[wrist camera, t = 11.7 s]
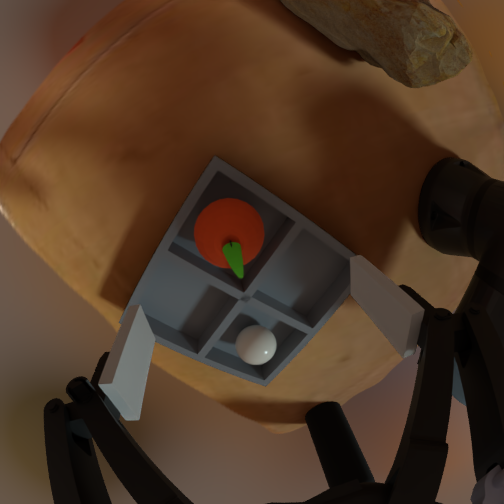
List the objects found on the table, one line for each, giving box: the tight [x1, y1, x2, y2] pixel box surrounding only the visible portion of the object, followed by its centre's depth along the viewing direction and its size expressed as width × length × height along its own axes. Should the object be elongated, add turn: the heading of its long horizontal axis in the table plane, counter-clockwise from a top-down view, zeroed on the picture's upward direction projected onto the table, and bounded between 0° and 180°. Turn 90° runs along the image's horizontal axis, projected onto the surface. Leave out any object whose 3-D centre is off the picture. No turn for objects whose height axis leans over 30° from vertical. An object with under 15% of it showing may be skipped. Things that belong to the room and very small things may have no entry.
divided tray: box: [119, 155, 357, 386], centre depth 33 cm, size 22×22×4 cm
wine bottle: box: [305, 402, 375, 488], centre depth 34 cm, size 8×8×30 cm
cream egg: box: [235, 325, 277, 365], centre depth 34 cm, size 5×5×5 cm
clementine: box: [194, 198, 264, 278], centre depth 28 cm, size 8×7×7 cm
